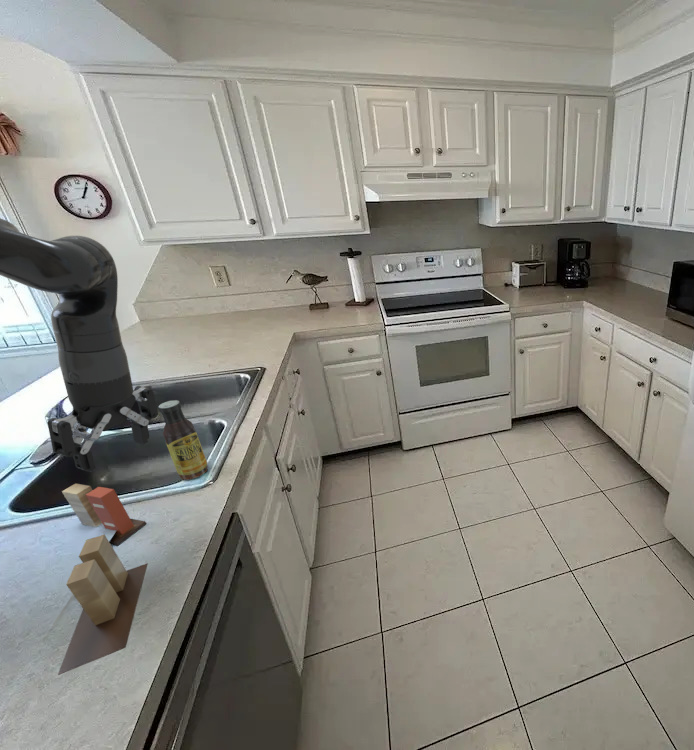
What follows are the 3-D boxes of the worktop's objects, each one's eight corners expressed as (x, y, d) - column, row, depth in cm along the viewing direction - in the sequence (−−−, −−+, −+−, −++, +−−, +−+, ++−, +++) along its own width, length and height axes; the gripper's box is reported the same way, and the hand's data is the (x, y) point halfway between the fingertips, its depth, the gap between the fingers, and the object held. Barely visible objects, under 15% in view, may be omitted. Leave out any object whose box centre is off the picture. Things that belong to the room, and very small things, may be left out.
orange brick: (121, 535, 85) (100, 497, 80) (106, 532, 85) (84, 495, 81) (134, 525, 87) (114, 488, 83) (119, 522, 88) (98, 486, 83)
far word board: (117, 545, 83) (93, 505, 79) (73, 536, 86) (47, 496, 81) (146, 523, 88) (125, 484, 84) (103, 515, 91) (81, 477, 86)
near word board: (59, 678, 61) (21, 633, 56) (95, 584, 75) (66, 542, 71) (127, 650, 64) (96, 605, 60) (149, 566, 79) (125, 524, 74)
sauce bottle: (187, 484, 100) (156, 414, 91) (175, 476, 103) (143, 407, 94) (215, 469, 105) (188, 402, 96) (203, 462, 108) (175, 395, 99)
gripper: (124, 350, 71) (139, 429, 77) (19, 381, 58) (47, 472, 64) (161, 361, 70) (173, 440, 76) (62, 395, 57) (87, 486, 64)
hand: (116, 455), depth 70 cm, fingers open, 8 cm apart
